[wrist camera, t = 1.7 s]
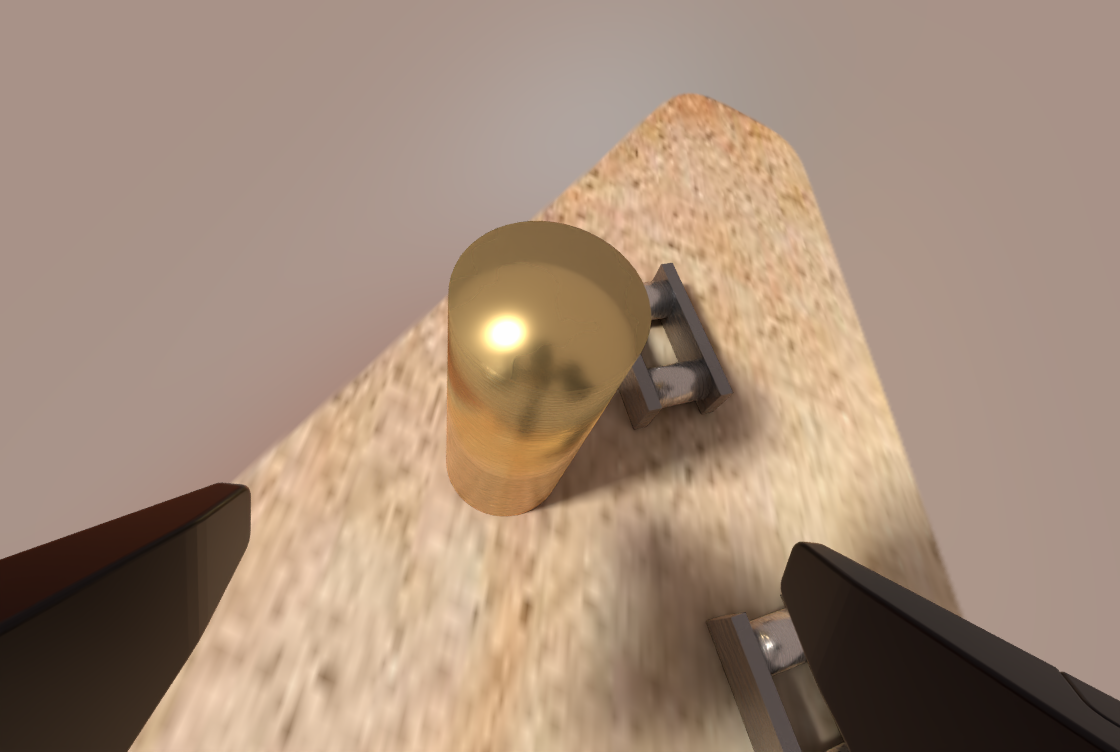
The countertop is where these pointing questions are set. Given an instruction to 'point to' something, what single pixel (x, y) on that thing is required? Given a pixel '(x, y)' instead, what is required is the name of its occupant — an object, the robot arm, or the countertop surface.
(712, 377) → the chain end
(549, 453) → the link pin
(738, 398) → the countertop surface
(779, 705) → the chain end
